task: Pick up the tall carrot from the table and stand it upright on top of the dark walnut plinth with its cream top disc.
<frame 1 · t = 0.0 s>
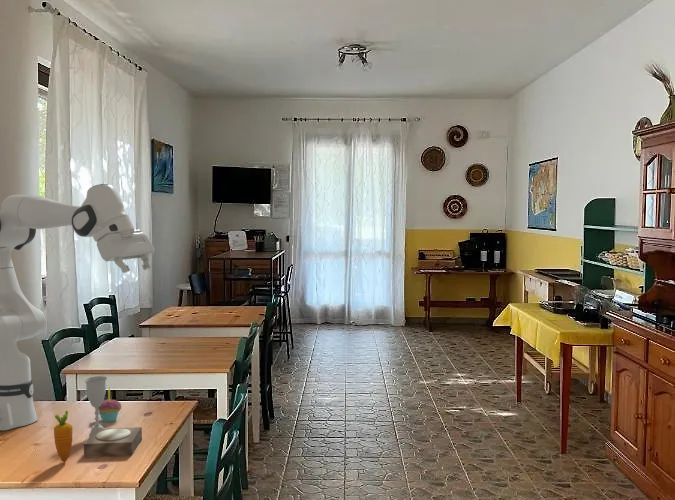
hand: (137, 270, 213), 54 cm above the table, tool tilted 30°, fingers open, 8 cm apart
walnut plinth: (114, 448, 213), on the table
chalice: (97, 433, 228), on the table
carrot: (64, 463, 202), on the table
cupcake: (108, 420, 242), on the table
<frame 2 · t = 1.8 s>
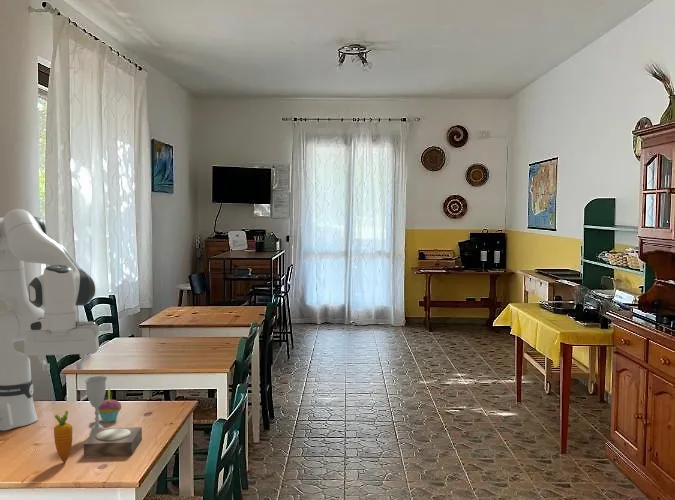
hand: (63, 369, 200), 27 cm above the table, tool pointing down, fingers open, 8 cm apart
nothing on the table moved.
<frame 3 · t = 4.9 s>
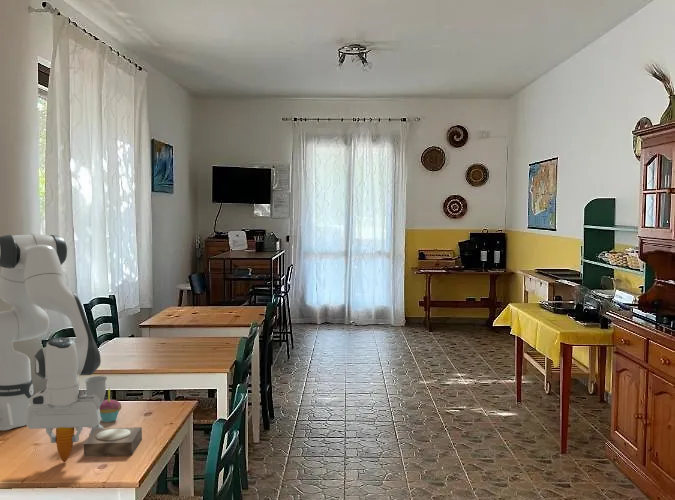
hand: (64, 442, 201), 6 cm above the table, tool pointing down, fingers closed on carrot, 5 cm apart
carrot: (64, 463, 202), on the table, touching gripper
everything else where it was.
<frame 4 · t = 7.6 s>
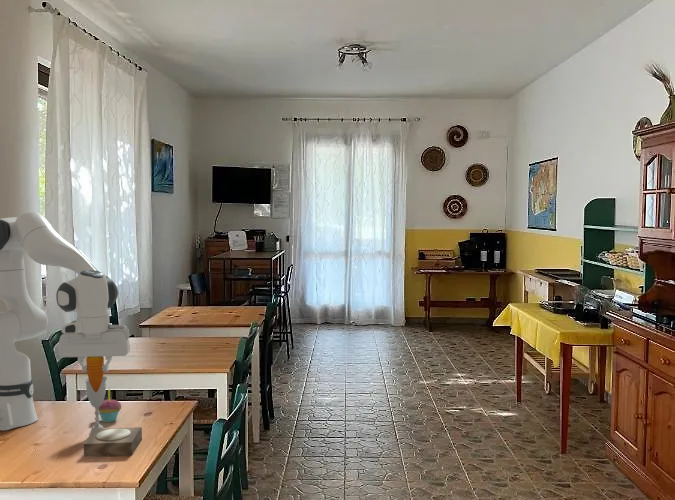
hand: (95, 371, 208), 25 cm above the table, tool pointing down, fingers closed on carrot, 4 cm apart
carrot: (96, 392, 208), point 18 cm above the table, touching gripper
everything else where it was.
when the fingers open (11 cm above the table, at t = 10.7 s): carrot stays where it is, resting on walnut plinth.
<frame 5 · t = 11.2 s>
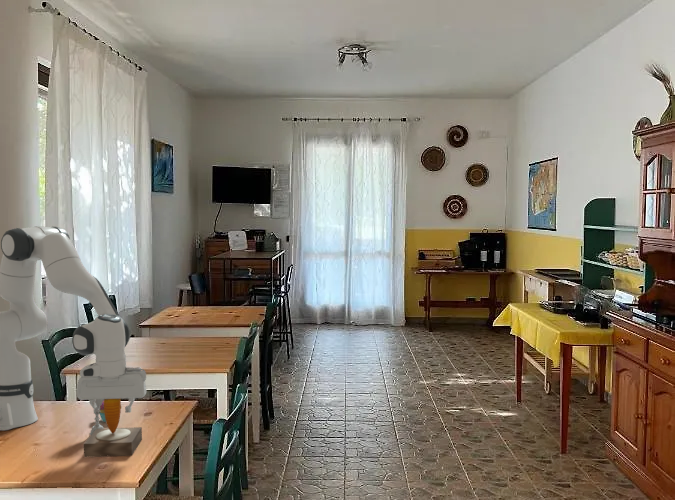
hand: (112, 412, 213), 11 cm above the table, tool pointing down, fingers open, 8 cm apart
carrot: (113, 434, 213), point 4 cm above the table, touching walnut plinth
everything else where it was.
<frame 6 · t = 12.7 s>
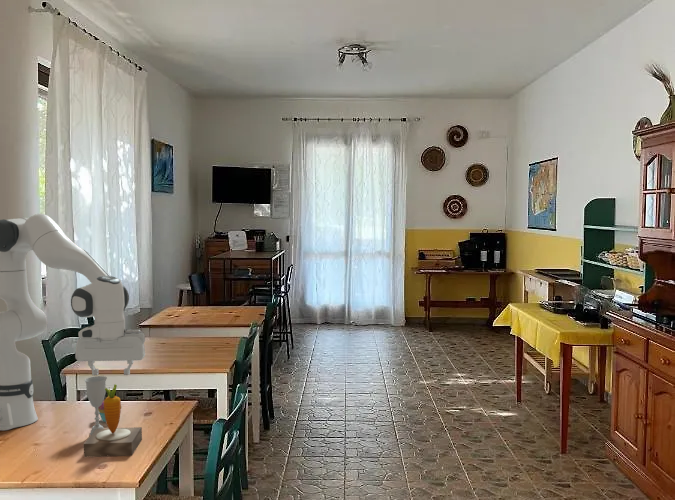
hand: (111, 374, 212), 23 cm above the table, tool pointing down, fingers open, 8 cm apart
nothing on the table moved.
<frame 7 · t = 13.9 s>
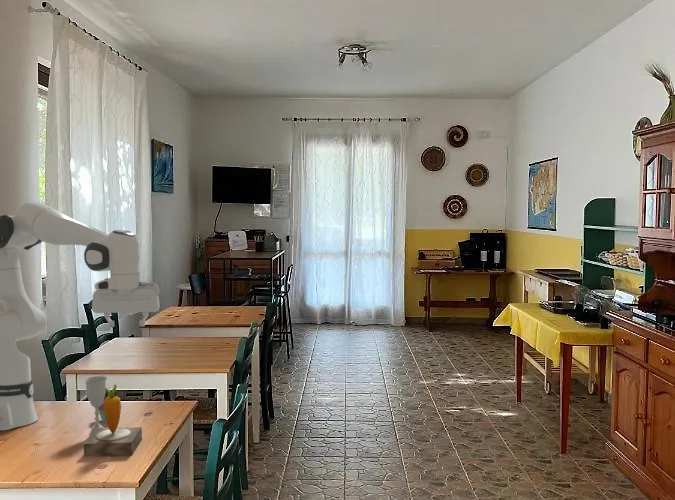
hand: (126, 326, 217), 37 cm above the table, tool pointing down, fingers open, 8 cm apart
nothing on the table moved.
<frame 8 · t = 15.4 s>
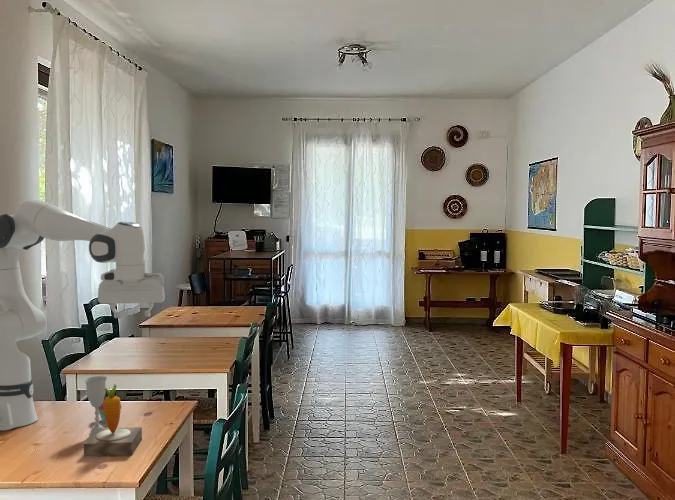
hand: (132, 317, 219), 39 cm above the table, tool pointing down, fingers open, 8 cm apart
nothing on the table moved.
at the end: carrot inside the target area on the walnut plinth (0.4 cm from its centre), point 4.3 cm above the walnut plinth's base; carrot tilted 0°; the gripper is holding nothing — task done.
